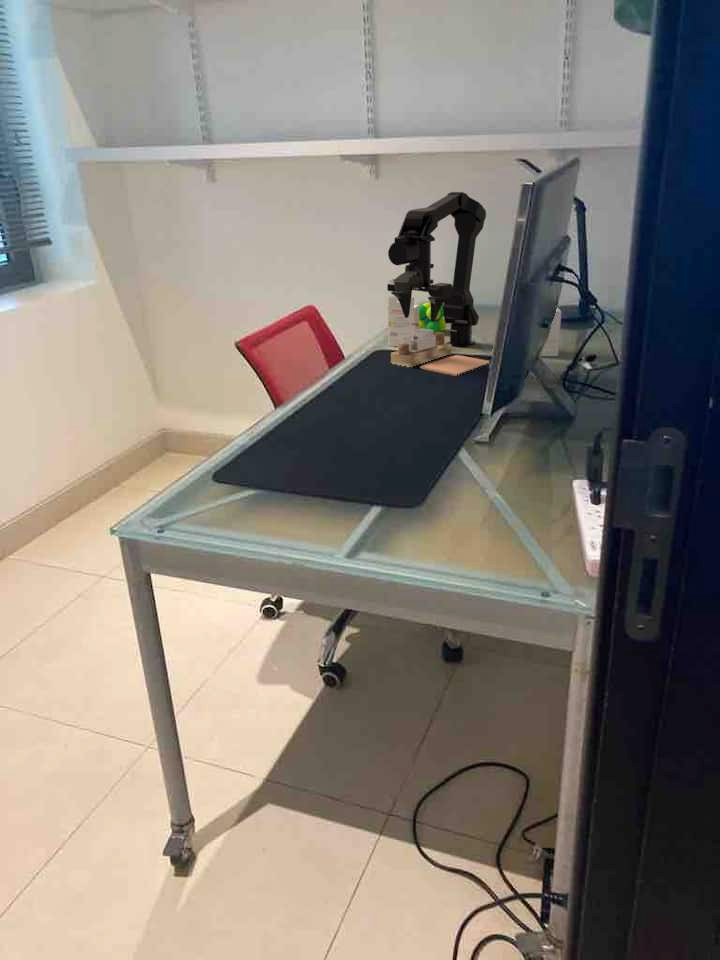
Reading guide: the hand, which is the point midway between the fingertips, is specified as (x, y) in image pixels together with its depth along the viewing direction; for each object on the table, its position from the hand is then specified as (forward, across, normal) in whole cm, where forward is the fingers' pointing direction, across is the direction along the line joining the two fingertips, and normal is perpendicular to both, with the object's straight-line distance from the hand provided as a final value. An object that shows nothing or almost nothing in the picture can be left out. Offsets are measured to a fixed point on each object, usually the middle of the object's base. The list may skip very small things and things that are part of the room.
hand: (419, 319), depth 207 cm
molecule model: (+12, -20, +30) cm, 38 cm away
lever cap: (+8, 0, 0) cm, 8 cm away
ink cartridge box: (+12, -15, +11) cm, 22 cm away
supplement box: (+12, +23, +27) cm, 37 cm away
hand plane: (+11, 0, +1) cm, 11 cm away
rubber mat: (+11, +12, +1) cm, 17 cm away
